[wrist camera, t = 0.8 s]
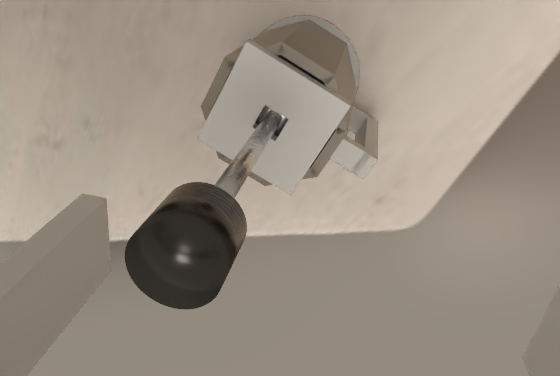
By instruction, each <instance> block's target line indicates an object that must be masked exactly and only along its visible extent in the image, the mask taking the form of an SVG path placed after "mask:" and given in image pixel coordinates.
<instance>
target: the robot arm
mask: <svg viewBox="0 0 560 376" xmlns="http://www.w3.org/2000/svg"><path fill="white" fill-rule="evenodd" d="M110 272H111V260H110V245H109V230H108V215H107V200H106V198H103V197H97V196H92V195H87V194H81V195H80V196H79V197H78V198H77V199H76V200H74V201H73V202H72V203H71V204H70V205H69V206H67V207H66V208H65V209H64V210H63V211H61V212H60V213H59V214H58V215H57V216H56V217H54V218H53V219H52V220H51V221H50V222H49V223H47V224H46V225H45V226H44V227H43V228H41V229H40V230H39V231H38V232H37V233H36V234H34V235H33V236H32V237H31V238H30V239H29V240H27V241H26V242H25V243H24V244H23V245H22V246H20V247H19V248H18V249H17V250H16V251H14V252H13V253H12V254H11V255H10V256H9V257H7V258H6V259H5V260H4V261H3V262H2V263H0V376H27V375H28V374H29V373H30V371H31V370H32V369H33V368H34V366H35V365H36V364H37V363H38V361H39V360H40V359H41V358H42V356H43V355H44V354H45V353H46V351H47V350H48V349H49V348H50V346H51V345H52V344H53V343H54V341H55V340H56V339H57V338H58V336H59V335H60V334H61V333H62V332H63V330H64V329H65V328H66V327H67V325H68V324H69V323H70V322H71V320H72V319H73V318H74V317H75V315H76V314H77V313H78V311H79V310H80V309H81V308H82V307H83V305H84V304H85V303H86V302H87V300H88V299H89V298H90V297H91V295H92V294H93V293H94V292H95V290H96V289H97V288H98V287H99V285H100V284H101V283H102V282H103V280H104V279H105V278H106V277H107V276H108V274H109V273H110ZM522 358H523V360H524V363H525V366H526V368H527V371H528V374H529V376H560V286H559V287H558V289H557V290H556V293H555V295H554V296H553V298H552V300H551V302H550V304H549V306H548V308H547V310H546V312H545V314H544V316H543V318H542V320H541V322H540V324H539V326H538V328H537V330H536V332H535V334H534V336H533V338H532V339H531V341H530V343H529V346H528V347H527V349H526V351H525V354H524V355H523V357H522Z"/></svg>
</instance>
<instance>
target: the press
mask: <svg viewBox="0 0 560 376" xmlns="http://www.w3.org/2000/svg"><path fill="white" fill-rule="evenodd" d="M358 83H359V63H358V59H357V55H356V52H355V50H354V47H353V46H352V44H351V42H350V41H349V39H348V38H347V37H346V35H345V34H344V33H343V32H342V31H341V30H340V29H339V28H337V27H336V26H335V25H333V24H332V23H330V22H328V21H326V20H324V19H321V18H318V17H313V16H306V15H300V16H292V17H288V18H285V19H282V20H280V21H278V22H276V23H274V24H272V25H271V26H269V27H268V28H267V29H265V30H264V31H263V32H262V33H261V34H260V35H259V36H258V37H256V38H254V39H253V40H251V39H249V40H248V41H246V43H245V45H243V46H242V47H240V48H239V49H237V50H235V51H234V52H232V53H231V54H229V55H228V56H226V57H225V58H224V60H223V62H222V64H221V66H220V68H219V71H218V73H217V75H216V77H215V79H214V81H213V83H212V85H211V87H210V89H209V91H208V93H207V95H206V97H205V99H204V101H203V103H202V105H201V108H202V111H203V114H204V117H205V120H206V122H205V124H204V126H203V128H202V130H201V132H200V134H199V136H198V138H197V139H198V140H200V141H201V142H203V143H205V144H206V145H208V146H210V147H211V148H213V149H215V150H216V152H217V155H218V158H220V159H221V160H223V161H225V162H226V163H228V164H231V162H232V161H233V159H234V158H235V157H236V155H237V154H238V153H239V151H240V150H241V148H242V147H243V146H244V144H245V143H246V142H247V140H248V139H249V138H250V136H251V135H252V133H253V132H254V131H255V129H256V128H257V127H258V124H256V121H257V119H258V117H259V116H260V114H261V112H262V110H263V109H264V107H265V105H266V106H268V107H269V108H271V109H272V110H274V111H276V112H277V113H279V114H281V115H282V116H284V117H285V118H287V119H288V121H287V123H286V124H285V126H284V128H283V129H282V131H281V133H280V134H279V136H278V137H277V136H276V135H274V134H273V135H272V137H271V139H270V140H269V142H268V144H267V145H266V147H265V148H264V150H263V152H262V153H261V155H260V157H259V158H258V160H257V162H256V163H255V165H254V167H253V168H252V170H251V171H250V173H249V175H248V176H250V177H251V178H253V179H255V180H256V181H258V182H260V183H261V184H263V185H265V186H267V185H275V186H276V187H278V188H280V189H281V190H283V191H285V192H286V193H288V194H290V195H291V194H292V193H293V191H294V190H295V188H296V187H297V185H298V184H299V183H300V181H301V180H302V179H307V178H313V177H317V176H318V175H319V173H320V172H321V170H322V169H323V167H324V166H325V165H326V163H327V162H328V160H329V159H331V160H333V161H334V162H336V163H338V164H339V165H341V166H343V167H344V168H346V169H347V170H349V171H351V172H352V173H354V174H356V175H357V176H359V177H361V178H362V179H364V177H365V176H366V175H367V173H368V172H369V171H370V169H371V168H372V167H373V165H374V164H375V163H376V161H377V160H378V121H377V120H376V119H374V118H373V117H371V116H369V115H368V114H366V113H365V112H363V111H361V110H360V109H358V108H357V107H355V106H353V101H354V98H355V95H356V92H357V88H358ZM348 130H350V131H351V132H353V133H354V134H356V135H355V141H354V140H352V139H351V138H349V137H347V136H346V134H347V133H348Z"/></svg>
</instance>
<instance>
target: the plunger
mask: <svg viewBox="0 0 560 376" xmlns="http://www.w3.org/2000/svg"><path fill="white" fill-rule="evenodd" d="M287 121H288V119H287V118H285V117H284V116H282V115H281V114H279V113H277V112H276V111H274V110H272V109H271V108H269V107H268V106H266V105H265V107H264V109H263V110H262V112H261V114H260V116H259V117H258V119H257V121H256V124H258V127H257V128H256V129H255V131H254V132H253V133H252V135H251V136H250V138H249V139H248V140H247V142H246V143H245V144H244V146H243V147H242V148H241V150H240V151H239V153H238V154H237V155H236V157H235V158H234V159H233V161H232V162H231V164H230V165H229V166H228V168H227V169H226V170H225V172H224V173H223V174H222V176H221V177H220V179H219V180H218V181H217V183H216V184H215V185H212V184H208V183H202V182H192V183H187V184H183V185H181V186H179V187H177V188H176V189H174V190H173V191H172V192H171V193H170V194H169V195H168V196H167V197H166V198H165V200H164V201H163V202H162V203H161V204H160V205H159V206H158V207H157V208H156V210H155V211H154V212H153V213H152V214H151V215H150V216H149V217H148V219H147V220H146V221H145V222H144V223H143V224H142V225H141V226H140V227H139V229H138V230H137V231H136V232H135V233H134V234H133V235H132V237H131V238H130V239H129V241H128V243H127V246H126V251H125V262H126V267H127V270H128V272H129V275H130V276H131V278H132V280H133V281H134V283H135V284H136V285H137V287H138V288H139V289H140V290H141V291H142V292H144V293H145V294H146V295H147V296H148V297H150V298H151V299H153V300H155V301H156V302H158V303H160V304H163V305H165V306H168V307H172V308H178V309H194V308H198V307H202V306H204V305H206V304H208V303H209V302H211V301H212V300H213V299H214V298H215V297H216V296H217V295H218V293H219V291H220V289H221V287H222V285H223V283H224V281H225V279H226V277H227V275H228V273H229V270H230V269H231V267H232V264H233V262H234V260H235V258H236V256H237V254H238V252H239V250H240V248H241V246H242V244H243V241H244V239H245V237H246V232H247V224H246V218H245V215H244V213H243V210H242V208H241V207H240V205H239V204H238V202H237V201H236V200H235V199H234V198H235V196H236V194H237V193H238V191H239V189H240V188H241V186H242V185H243V183H244V181H245V180H246V178H247V176H248V175H249V173H250V171H251V170H252V168H253V167H254V165H255V163H256V162H257V160H258V158H259V157H260V155H261V153H262V152H263V150H264V148H265V147H266V145H267V144H268V142H269V140H270V139H271V137H272V135H273V134H274V135H276V136H277V137H278V136H279V134H280V133H281V131H282V129H283V128H284V126H285V124H286V123H287Z"/></svg>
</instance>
